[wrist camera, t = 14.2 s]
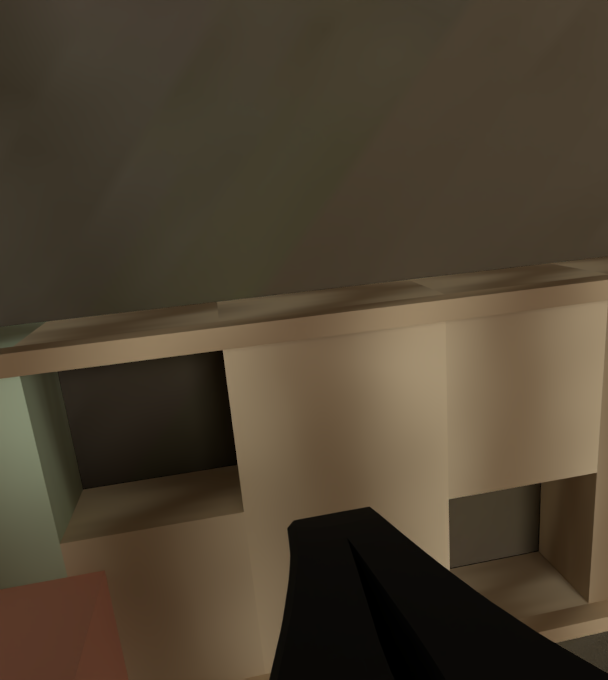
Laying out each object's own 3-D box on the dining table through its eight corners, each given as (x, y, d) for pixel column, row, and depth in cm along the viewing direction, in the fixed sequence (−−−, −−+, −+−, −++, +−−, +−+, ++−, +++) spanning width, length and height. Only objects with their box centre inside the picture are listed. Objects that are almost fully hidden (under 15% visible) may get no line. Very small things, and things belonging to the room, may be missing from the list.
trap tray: (625, 254, 19) (762, 271, 15) (604, 550, 23) (710, 643, 18) (-122, 341, 16) (-265, 401, 11) (-19, 676, 19) (-95, 835, 14)
